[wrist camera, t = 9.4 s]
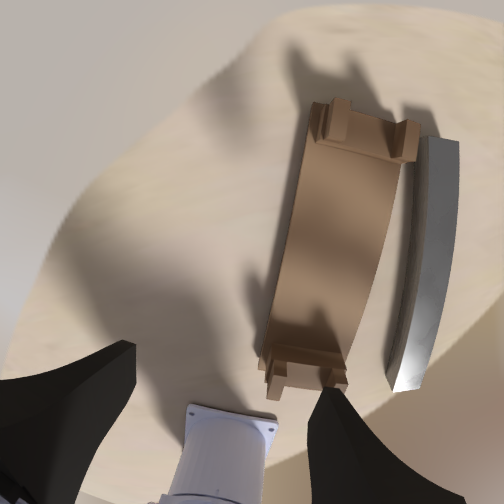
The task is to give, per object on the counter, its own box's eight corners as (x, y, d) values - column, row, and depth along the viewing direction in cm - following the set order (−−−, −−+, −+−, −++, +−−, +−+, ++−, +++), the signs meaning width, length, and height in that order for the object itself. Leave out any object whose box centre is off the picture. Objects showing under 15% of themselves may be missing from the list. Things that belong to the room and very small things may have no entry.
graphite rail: (410, 371, 21) (419, 388, 19) (384, 374, 21) (392, 392, 19) (441, 144, 17) (458, 141, 14) (412, 139, 17) (428, 135, 15)
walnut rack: (335, 373, 21) (345, 413, 17) (258, 361, 21) (253, 402, 17) (400, 130, 16) (433, 119, 12) (311, 105, 17) (322, 84, 12)
